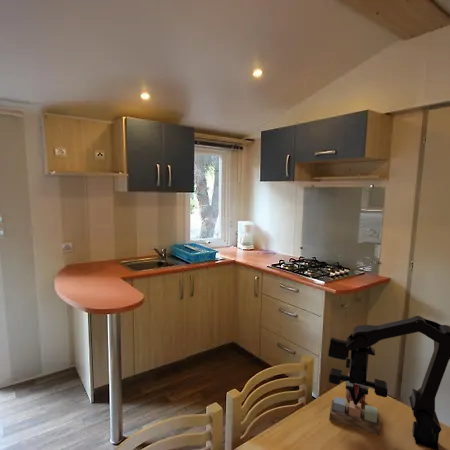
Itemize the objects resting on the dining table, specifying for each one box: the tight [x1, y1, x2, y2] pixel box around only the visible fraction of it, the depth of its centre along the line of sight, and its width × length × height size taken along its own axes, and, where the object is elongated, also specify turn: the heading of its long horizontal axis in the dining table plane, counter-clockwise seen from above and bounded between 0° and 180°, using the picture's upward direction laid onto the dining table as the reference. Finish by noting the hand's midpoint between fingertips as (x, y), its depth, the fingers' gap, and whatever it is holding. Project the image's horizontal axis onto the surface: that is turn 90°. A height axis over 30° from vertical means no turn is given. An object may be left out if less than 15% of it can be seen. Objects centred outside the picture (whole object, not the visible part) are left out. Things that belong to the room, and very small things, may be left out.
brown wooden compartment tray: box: [328, 399, 381, 436], centre depth 113 cm, size 16×8×2 cm, turn 66°
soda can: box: [345, 372, 367, 405], centre depth 123 cm, size 7×7×12 cm
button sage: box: [364, 404, 378, 423], centre depth 111 cm, size 4×4×3 cm
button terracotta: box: [348, 401, 362, 418], centre depth 113 cm, size 4×4×3 cm
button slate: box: [333, 395, 347, 413], centre depth 115 cm, size 4×4×3 cm
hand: (355, 404), depth 113 cm, fingers closed
